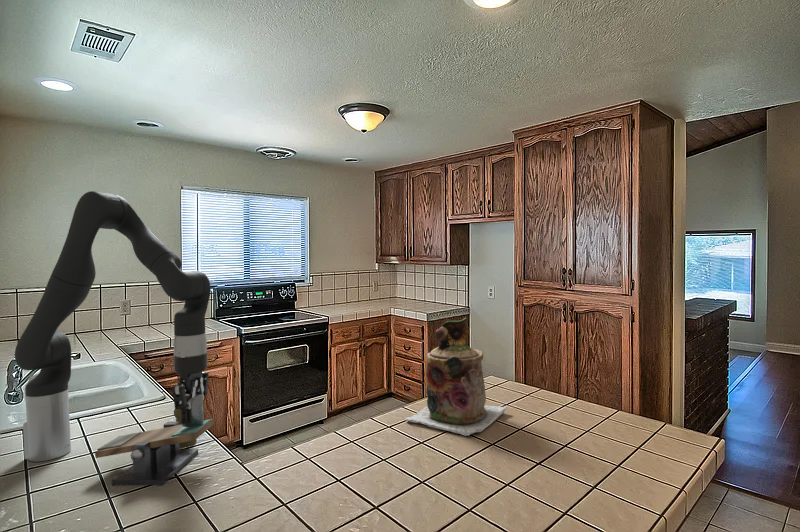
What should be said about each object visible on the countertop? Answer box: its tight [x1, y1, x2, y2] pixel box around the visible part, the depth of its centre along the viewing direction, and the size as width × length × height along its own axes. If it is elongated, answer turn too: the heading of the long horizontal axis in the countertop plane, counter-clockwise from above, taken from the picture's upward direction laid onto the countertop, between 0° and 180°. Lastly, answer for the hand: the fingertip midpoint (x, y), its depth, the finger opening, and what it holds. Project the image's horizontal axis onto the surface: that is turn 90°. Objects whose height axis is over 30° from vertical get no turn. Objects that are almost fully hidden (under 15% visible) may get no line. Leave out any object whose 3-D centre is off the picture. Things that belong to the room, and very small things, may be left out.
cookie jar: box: [405, 317, 507, 437], centre depth 145 cm, size 25×25×32 cm
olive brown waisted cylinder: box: [173, 408, 198, 449], centre depth 130 cm, size 6×6×11 cm
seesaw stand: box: [111, 421, 199, 486], centre depth 115 cm, size 12×17×9 cm
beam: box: [94, 418, 215, 459], centre depth 115 cm, size 25×10×2 cm, turn 87°
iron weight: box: [182, 393, 205, 427], centre depth 114 cm, size 5×5×7 cm
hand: (192, 419), depth 114 cm, fingers closed on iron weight, 5 cm apart
